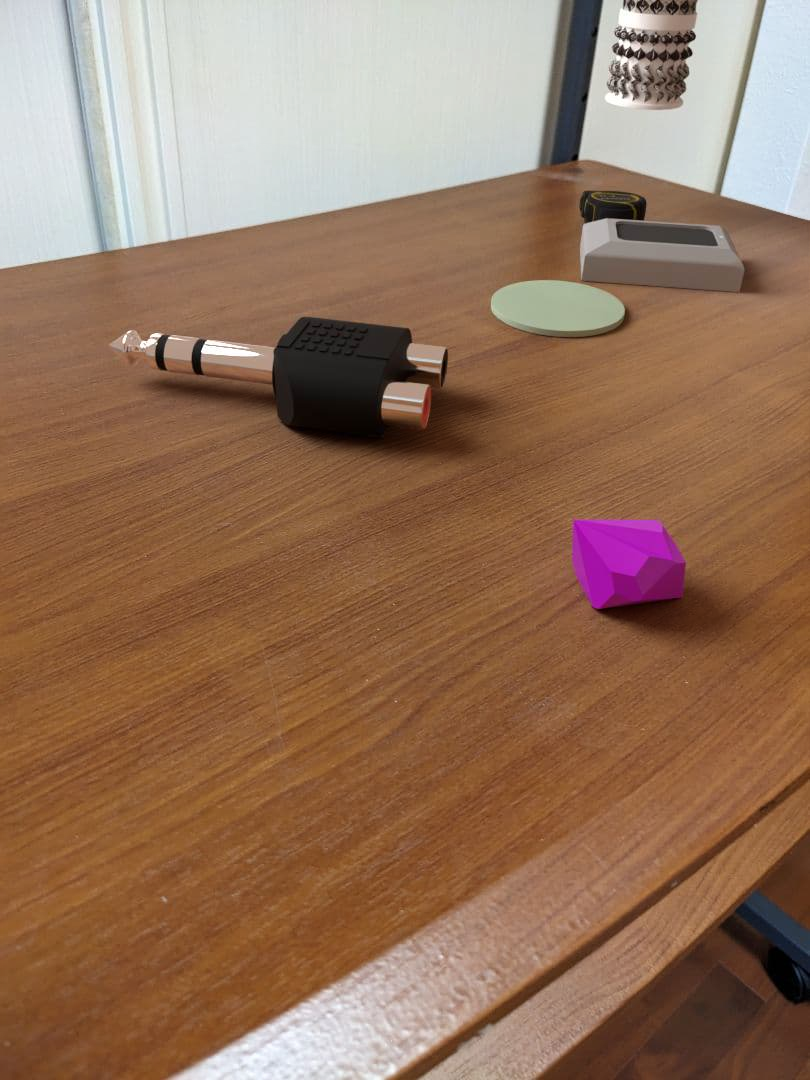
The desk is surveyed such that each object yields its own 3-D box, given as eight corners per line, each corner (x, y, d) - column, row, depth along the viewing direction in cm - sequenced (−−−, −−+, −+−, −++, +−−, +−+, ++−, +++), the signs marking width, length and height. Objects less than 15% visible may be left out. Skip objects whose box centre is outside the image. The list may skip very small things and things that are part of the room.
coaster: (652, 317, 83) (653, 310, 82) (557, 349, 77) (557, 342, 76) (556, 277, 90) (557, 271, 90) (463, 303, 84) (464, 297, 84)
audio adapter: (421, 385, 59) (64, 340, 63) (418, 457, 62) (78, 410, 66) (452, 320, 67) (136, 284, 72) (448, 386, 71) (146, 348, 75)
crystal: (621, 636, 48) (636, 566, 45) (551, 581, 51) (562, 513, 49) (689, 602, 50) (707, 533, 48) (618, 552, 54) (631, 485, 51)
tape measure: (637, 221, 105) (642, 188, 103) (646, 240, 100) (652, 205, 98) (577, 219, 106) (581, 185, 103) (583, 238, 100) (588, 202, 98)
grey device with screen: (584, 213, 95) (733, 222, 94) (579, 248, 97) (725, 258, 96) (586, 242, 87) (748, 254, 86) (581, 280, 90) (739, 292, 88)
